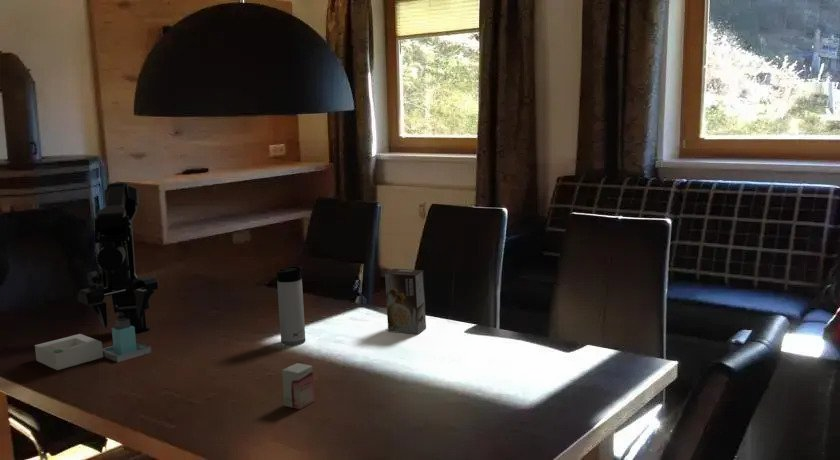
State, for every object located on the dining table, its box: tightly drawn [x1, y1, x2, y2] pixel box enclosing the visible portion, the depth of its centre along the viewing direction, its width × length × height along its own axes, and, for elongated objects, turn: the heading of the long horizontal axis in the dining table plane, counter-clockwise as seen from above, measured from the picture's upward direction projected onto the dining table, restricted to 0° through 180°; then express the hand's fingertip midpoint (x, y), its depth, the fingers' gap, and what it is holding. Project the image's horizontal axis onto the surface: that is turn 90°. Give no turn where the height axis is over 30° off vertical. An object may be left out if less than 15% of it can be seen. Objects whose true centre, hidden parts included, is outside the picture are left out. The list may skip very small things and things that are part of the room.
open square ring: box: [102, 341, 152, 363], centre depth 196 cm, size 9×9×2 cm
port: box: [34, 333, 104, 371], centre depth 193 cm, size 12×12×4 cm
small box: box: [281, 362, 315, 410], centre depth 160 cm, size 5×4×8 cm
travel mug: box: [276, 265, 306, 347], centre depth 199 cm, size 6×7×20 cm
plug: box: [111, 318, 138, 355], centre depth 195 cm, size 4×4×9 cm
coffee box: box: [384, 268, 427, 335], centre depth 207 cm, size 9×6×16 cm
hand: (122, 322), depth 195 cm, fingers open, 9 cm apart
